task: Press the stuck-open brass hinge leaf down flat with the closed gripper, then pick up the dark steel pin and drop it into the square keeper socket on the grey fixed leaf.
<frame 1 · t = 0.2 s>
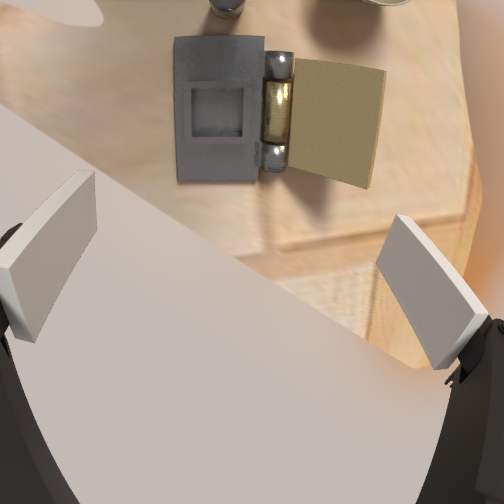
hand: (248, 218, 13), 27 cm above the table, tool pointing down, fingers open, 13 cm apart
brass leaf: (318, 118, 32), point 5 cm above the table, hinge at 40.0°
pin: (227, 5, 29), on the table
hinge base: (275, 109, 36), on the table
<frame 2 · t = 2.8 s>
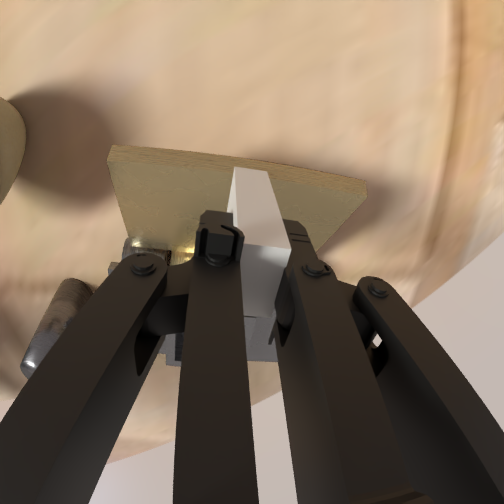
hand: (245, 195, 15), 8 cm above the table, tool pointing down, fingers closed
brass leaf: (224, 238, 21), point 4 cm above the table, hinge at 34.8°, touching gripper
flower pot: (4, 135, 19), on the table
pin: (76, 293, 28), on the table
hinge base: (216, 256, 27), on the table
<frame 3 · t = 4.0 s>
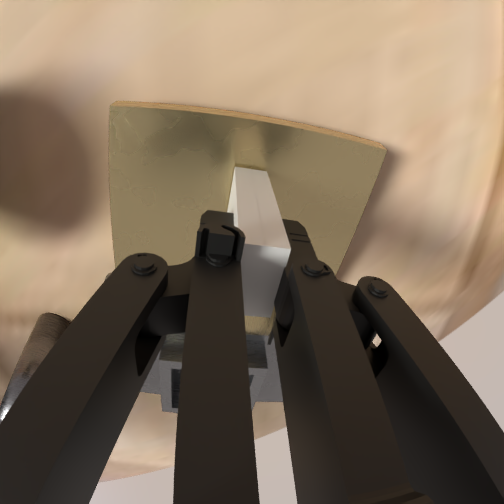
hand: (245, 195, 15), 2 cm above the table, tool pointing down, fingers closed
brass leaf: (231, 244, 17), point 2 cm above the table, hinge at 5.2°, touching gripper
pin: (56, 328, 23), on the table
hinge base: (219, 294, 21), on the table
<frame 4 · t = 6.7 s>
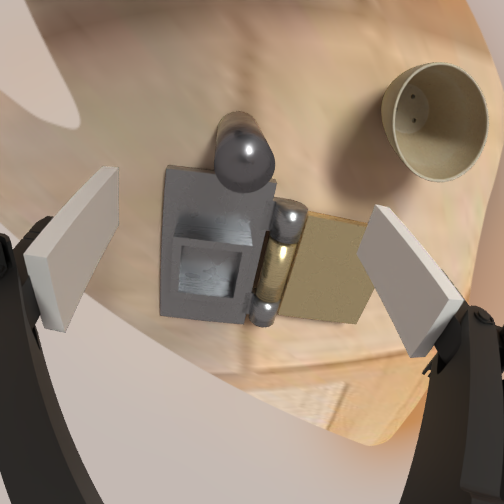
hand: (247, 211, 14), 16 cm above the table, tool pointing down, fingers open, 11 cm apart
brass leaf: (323, 276, 34), point 2 cm above the table, hinge at 5.2°
flower pot: (404, 106, 26), on the table
pin: (238, 131, 27), on the table
hinge base: (273, 260, 35), on the table
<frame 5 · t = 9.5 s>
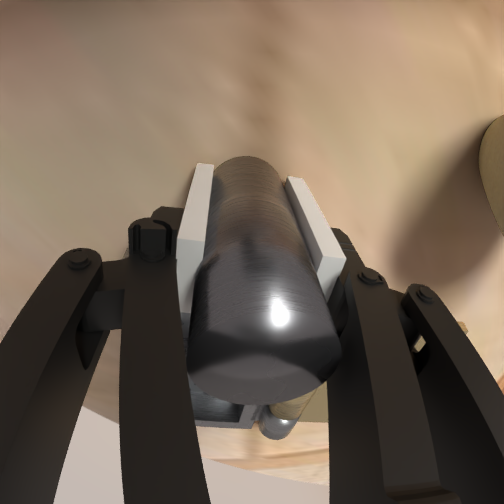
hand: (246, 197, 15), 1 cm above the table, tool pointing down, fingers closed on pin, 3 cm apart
brass leaf: (362, 386, 23), point 2 cm above the table, hinge at 5.2°
flower pot: (502, 151, 15), on the table
pin: (244, 192, 15), on the table, touching gripper
hinge base: (295, 366, 23), on the table
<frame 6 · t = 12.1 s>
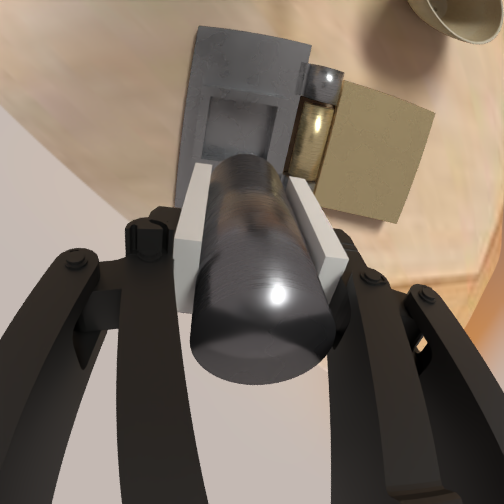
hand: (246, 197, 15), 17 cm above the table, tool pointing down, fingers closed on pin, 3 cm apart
brass leaf: (361, 153, 29), point 2 cm above the table, hinge at 5.2°
pin: (244, 188, 16), point 16 cm above the table, touching gripper
hinge base: (307, 137, 30), on the table
when the fingers open (5 cm above the table, at t = 14.7 s): pin drops 2 cm, resting on hinge base.
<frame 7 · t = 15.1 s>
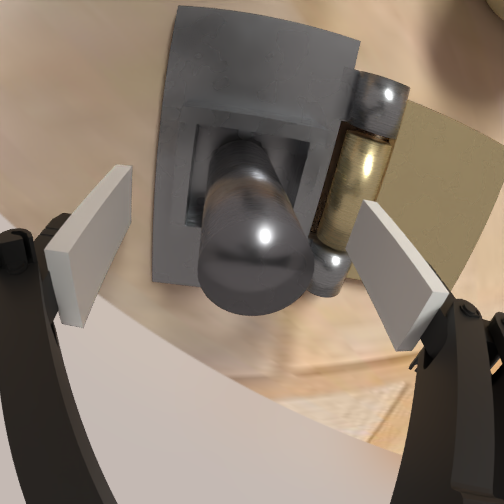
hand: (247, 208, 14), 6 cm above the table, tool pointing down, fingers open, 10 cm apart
brass leaf: (421, 209, 19), point 2 cm above the table, hinge at 5.2°
pin: (240, 170, 18), point 1 cm above the table, touching hinge base
hinge base: (345, 182, 20), on the table
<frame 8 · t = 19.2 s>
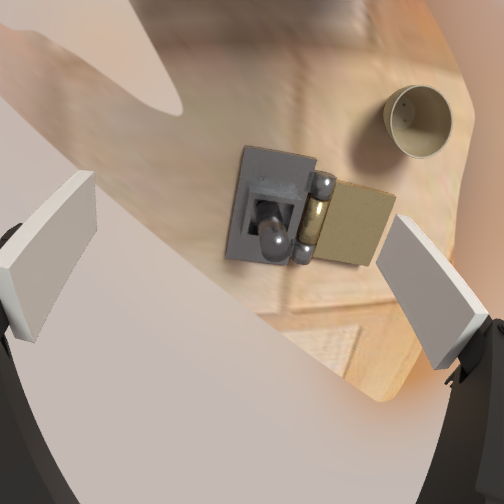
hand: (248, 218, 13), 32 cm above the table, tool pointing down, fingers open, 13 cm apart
brass leaf: (345, 226, 48), point 2 cm above the table, hinge at 5.2°
flower pot: (398, 111, 41), on the table
pin: (267, 212, 47), point 1 cm above the table, touching hinge base
hinge base: (311, 215, 49), on the table
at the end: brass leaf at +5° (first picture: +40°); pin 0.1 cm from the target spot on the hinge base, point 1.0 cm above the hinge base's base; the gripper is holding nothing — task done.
